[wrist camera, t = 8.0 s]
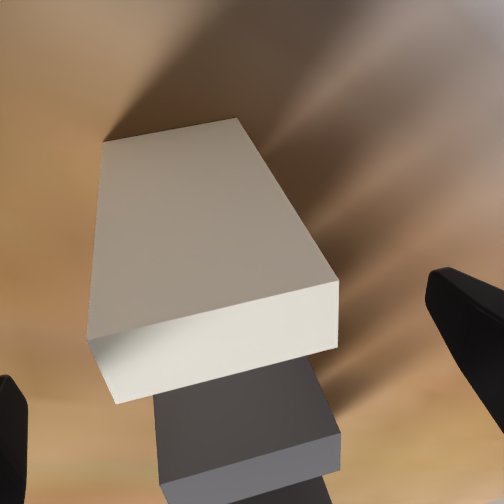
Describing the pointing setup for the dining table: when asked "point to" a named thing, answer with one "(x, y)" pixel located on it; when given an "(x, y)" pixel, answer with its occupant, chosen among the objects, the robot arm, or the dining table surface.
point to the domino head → (200, 264)
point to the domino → (244, 434)
